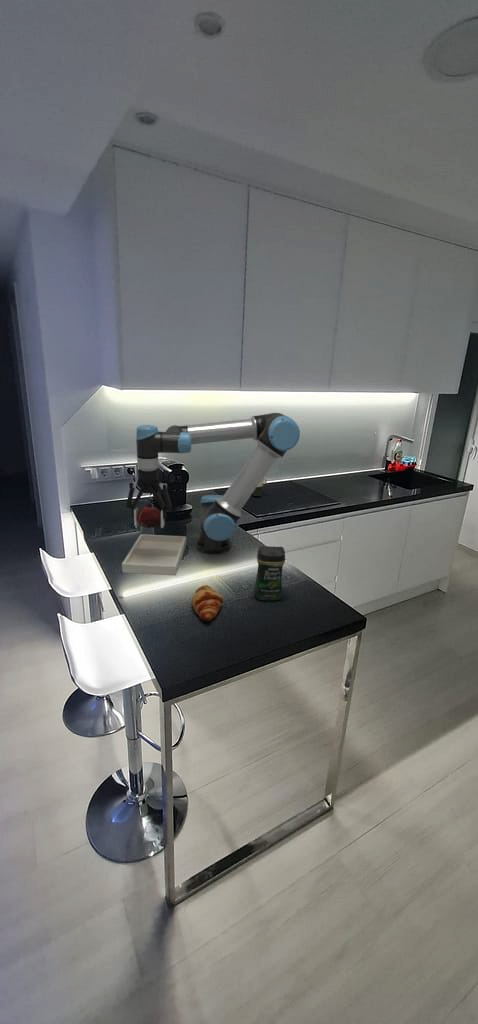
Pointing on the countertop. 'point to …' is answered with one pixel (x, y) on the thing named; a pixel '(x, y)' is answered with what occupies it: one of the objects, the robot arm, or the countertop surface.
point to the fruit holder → (155, 555)
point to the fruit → (149, 517)
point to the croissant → (206, 602)
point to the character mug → (259, 488)
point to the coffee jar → (269, 573)
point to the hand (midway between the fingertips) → (149, 525)
